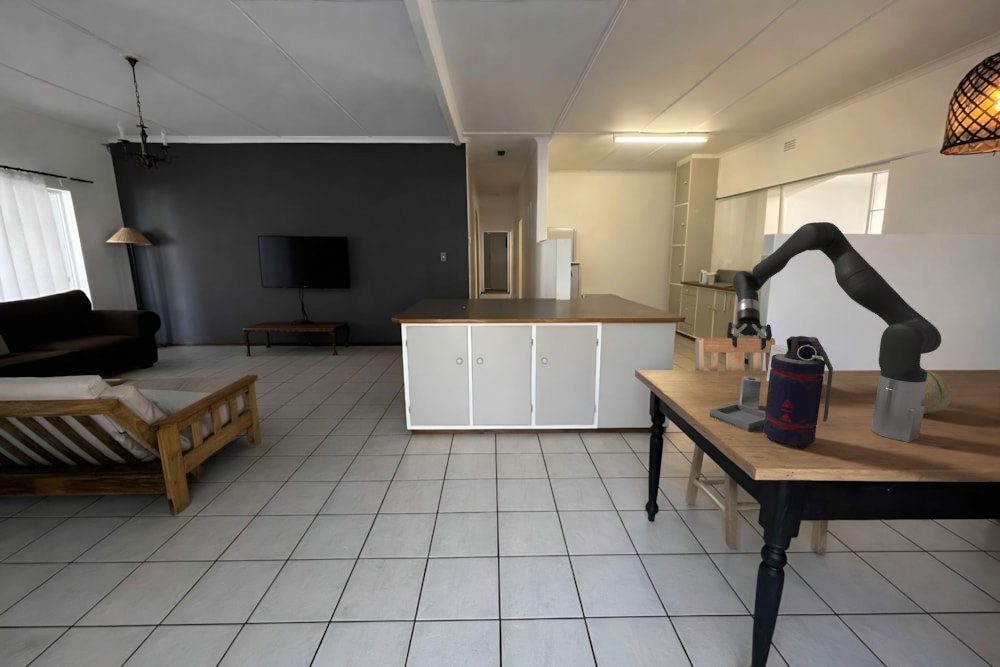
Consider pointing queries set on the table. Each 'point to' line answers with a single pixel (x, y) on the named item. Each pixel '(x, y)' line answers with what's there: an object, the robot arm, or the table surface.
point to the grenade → (796, 392)
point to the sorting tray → (739, 416)
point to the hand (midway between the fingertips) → (749, 347)
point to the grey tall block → (750, 392)
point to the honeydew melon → (936, 393)
